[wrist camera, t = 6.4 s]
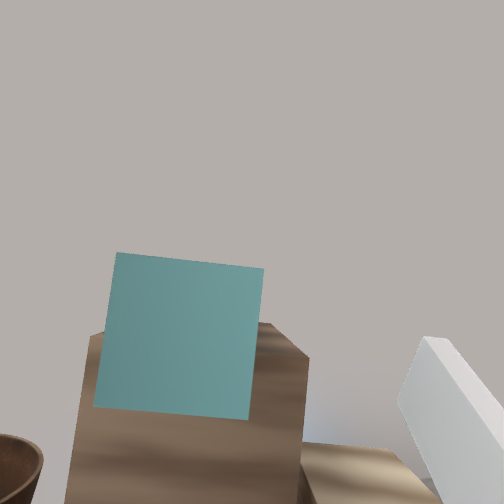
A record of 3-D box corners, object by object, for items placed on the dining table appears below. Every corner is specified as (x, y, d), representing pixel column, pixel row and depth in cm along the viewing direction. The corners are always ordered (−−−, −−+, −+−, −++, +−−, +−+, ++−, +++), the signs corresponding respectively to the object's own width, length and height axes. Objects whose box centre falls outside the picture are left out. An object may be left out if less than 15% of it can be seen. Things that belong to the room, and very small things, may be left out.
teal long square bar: (250, 422, 9) (266, 267, 9) (90, 408, 9) (115, 250, 9) (233, 319, 37) (238, 281, 37) (195, 315, 37) (200, 277, 37)
